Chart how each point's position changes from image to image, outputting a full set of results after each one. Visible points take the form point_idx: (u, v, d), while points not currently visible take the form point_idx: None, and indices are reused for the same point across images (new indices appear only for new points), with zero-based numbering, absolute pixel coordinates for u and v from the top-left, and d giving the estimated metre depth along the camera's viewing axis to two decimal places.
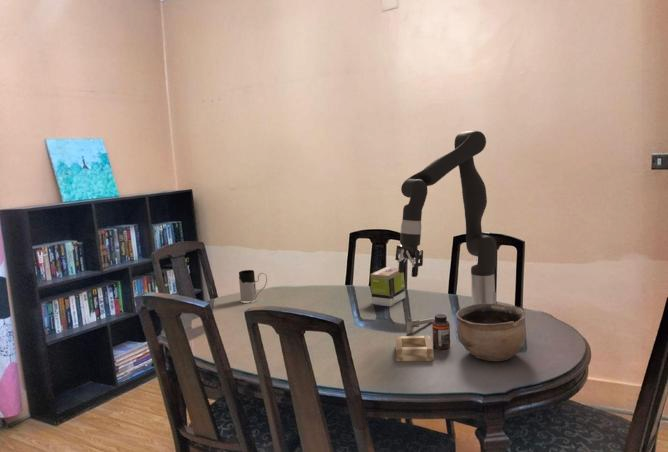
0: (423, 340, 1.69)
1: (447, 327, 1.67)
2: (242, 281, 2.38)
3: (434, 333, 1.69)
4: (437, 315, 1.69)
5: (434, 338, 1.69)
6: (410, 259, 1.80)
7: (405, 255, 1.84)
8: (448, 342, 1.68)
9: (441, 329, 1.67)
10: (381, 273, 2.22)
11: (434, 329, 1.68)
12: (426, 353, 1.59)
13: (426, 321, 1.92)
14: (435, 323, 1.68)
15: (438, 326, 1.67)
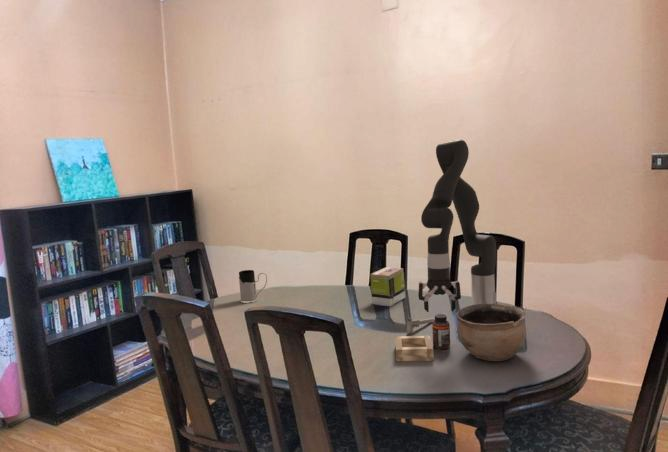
0: (423, 340, 1.69)
1: (447, 327, 1.67)
2: (242, 281, 2.38)
3: (434, 333, 1.69)
4: (437, 315, 1.69)
5: (434, 338, 1.69)
6: (449, 294, 1.66)
7: (437, 291, 1.67)
8: (448, 342, 1.68)
9: (441, 329, 1.67)
10: (381, 273, 2.22)
11: (434, 329, 1.68)
12: (426, 353, 1.59)
13: (426, 321, 1.92)
14: (435, 323, 1.68)
15: (438, 326, 1.67)
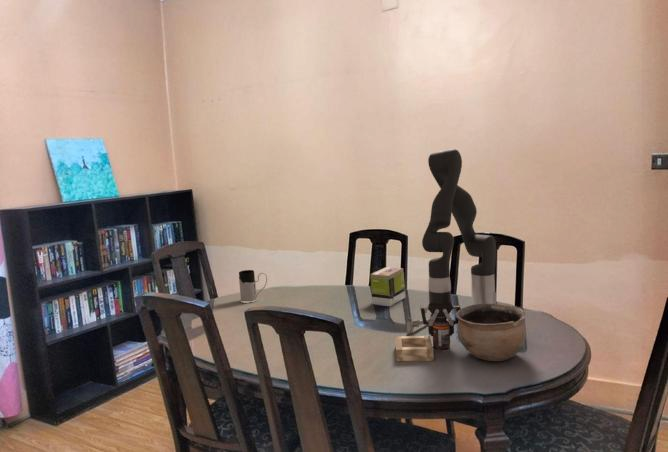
0: (423, 340, 1.69)
1: (447, 327, 1.67)
2: (242, 281, 2.38)
3: (434, 333, 1.69)
4: None
5: (434, 338, 1.69)
6: (449, 318, 1.67)
7: (439, 314, 1.68)
8: (448, 342, 1.68)
9: (441, 329, 1.67)
10: (381, 273, 2.22)
11: (434, 329, 1.68)
12: (426, 353, 1.59)
13: None
14: (435, 323, 1.68)
15: (438, 326, 1.67)
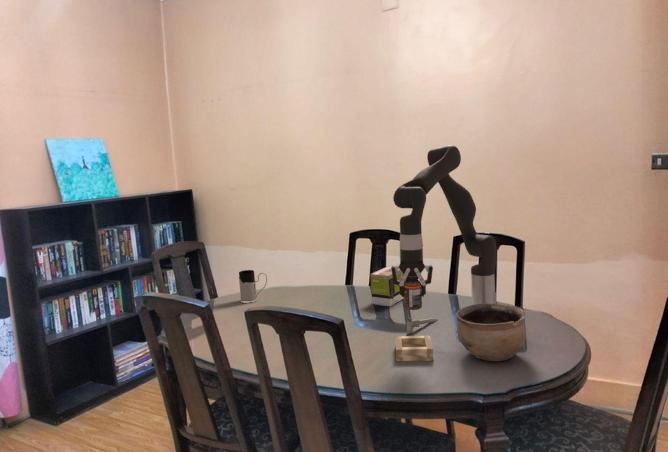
0: (423, 340, 1.69)
1: (418, 287, 1.60)
2: (242, 281, 2.38)
3: (405, 294, 1.62)
4: None
5: (405, 298, 1.62)
6: (420, 277, 1.60)
7: (410, 273, 1.61)
8: (419, 303, 1.61)
9: (412, 289, 1.60)
10: (381, 273, 2.22)
11: (405, 289, 1.61)
12: (426, 353, 1.59)
13: (426, 321, 1.92)
14: (406, 283, 1.61)
15: (409, 286, 1.60)
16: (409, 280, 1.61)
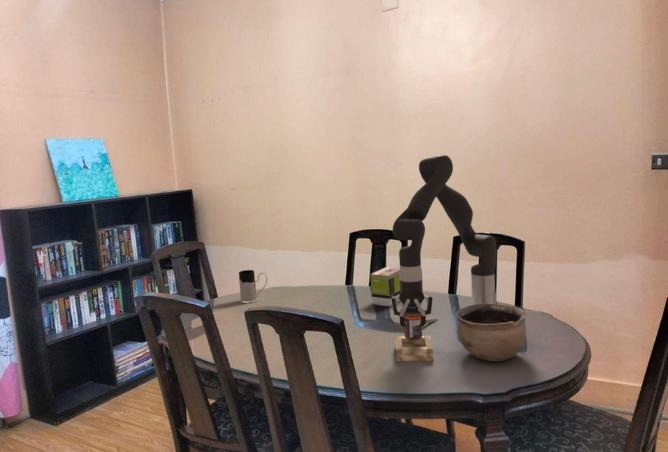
0: (423, 340, 1.69)
1: (418, 317, 1.62)
2: (242, 281, 2.38)
3: (405, 324, 1.63)
4: None
5: (405, 328, 1.64)
6: (420, 308, 1.62)
7: (410, 304, 1.63)
8: (420, 333, 1.63)
9: (412, 320, 1.61)
10: (381, 273, 2.22)
11: (405, 320, 1.63)
12: (426, 353, 1.59)
13: (426, 321, 1.92)
14: (406, 313, 1.63)
15: (409, 316, 1.61)
16: (409, 311, 1.62)
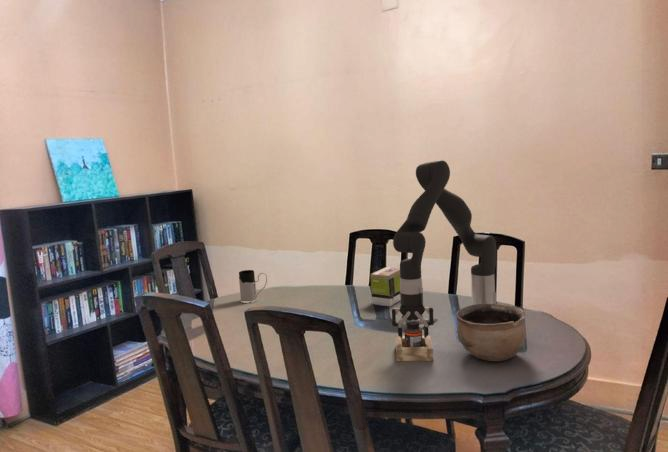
0: (423, 340, 1.69)
1: (419, 334, 1.63)
2: (242, 281, 2.38)
3: (406, 340, 1.64)
4: (409, 321, 1.65)
5: (406, 345, 1.64)
6: (422, 320, 1.62)
7: (410, 317, 1.63)
8: None
9: (412, 336, 1.62)
10: (381, 273, 2.22)
11: (406, 336, 1.64)
12: (426, 353, 1.59)
13: None
14: (407, 330, 1.63)
15: (410, 333, 1.62)
16: (410, 327, 1.63)
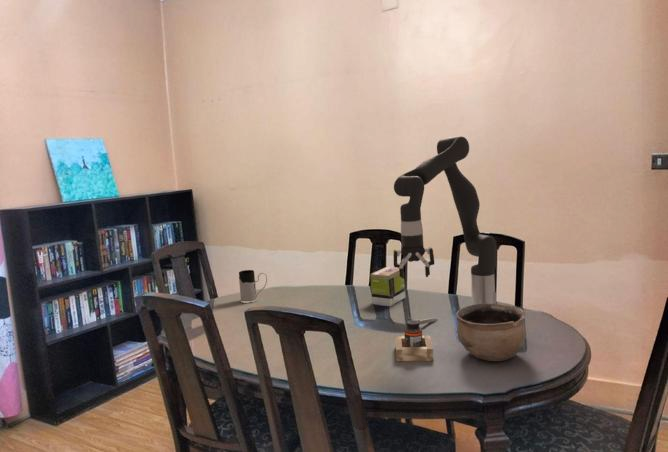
0: (423, 340, 1.69)
1: (419, 334, 1.63)
2: (242, 281, 2.38)
3: (406, 340, 1.64)
4: (409, 321, 1.65)
5: (406, 345, 1.64)
6: (423, 260, 1.70)
7: (411, 258, 1.71)
8: None
9: (412, 336, 1.62)
10: (381, 273, 2.22)
11: (406, 336, 1.64)
12: (426, 353, 1.59)
13: (426, 321, 1.92)
14: (407, 330, 1.63)
15: (410, 333, 1.62)
16: (410, 327, 1.63)
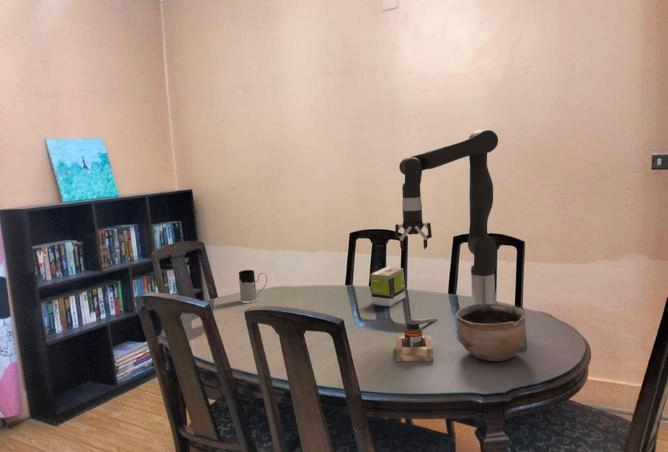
0: (423, 340, 1.69)
1: (419, 334, 1.63)
2: (242, 281, 2.38)
3: (406, 340, 1.64)
4: (409, 321, 1.65)
5: (406, 345, 1.64)
6: (421, 233, 1.90)
7: (411, 231, 1.91)
8: None
9: (412, 336, 1.62)
10: (381, 273, 2.22)
11: (406, 336, 1.64)
12: (426, 353, 1.59)
13: (426, 321, 1.92)
14: (407, 330, 1.63)
15: (410, 333, 1.62)
16: (410, 327, 1.63)
